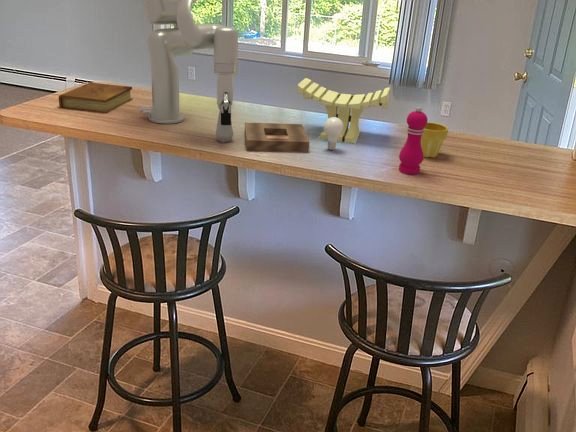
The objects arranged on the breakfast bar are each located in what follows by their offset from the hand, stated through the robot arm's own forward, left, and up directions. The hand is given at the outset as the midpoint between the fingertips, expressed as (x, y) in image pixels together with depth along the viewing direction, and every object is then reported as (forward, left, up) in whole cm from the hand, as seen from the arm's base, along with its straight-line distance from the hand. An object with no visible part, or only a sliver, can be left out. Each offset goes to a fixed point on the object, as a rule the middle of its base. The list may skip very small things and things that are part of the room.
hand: (225, 121), depth 188 cm
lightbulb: (+35, -7, -7) cm, 36 cm away
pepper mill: (+56, -25, -7) cm, 61 cm away
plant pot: (+67, -9, -7) cm, 68 cm away
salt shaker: (0, 0, -7) cm, 7 cm away
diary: (-49, +42, -8) cm, 66 cm away
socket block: (+17, 0, -7) cm, 18 cm away
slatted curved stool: (+41, +10, -7) cm, 43 cm away
